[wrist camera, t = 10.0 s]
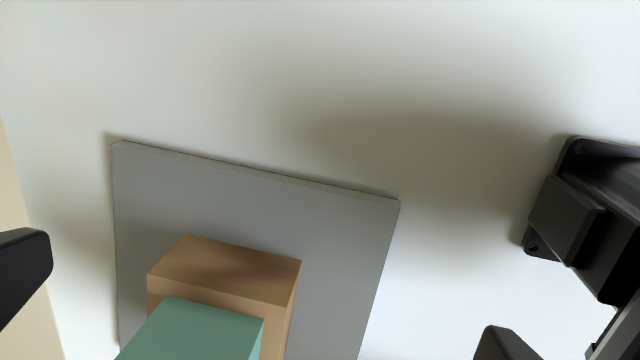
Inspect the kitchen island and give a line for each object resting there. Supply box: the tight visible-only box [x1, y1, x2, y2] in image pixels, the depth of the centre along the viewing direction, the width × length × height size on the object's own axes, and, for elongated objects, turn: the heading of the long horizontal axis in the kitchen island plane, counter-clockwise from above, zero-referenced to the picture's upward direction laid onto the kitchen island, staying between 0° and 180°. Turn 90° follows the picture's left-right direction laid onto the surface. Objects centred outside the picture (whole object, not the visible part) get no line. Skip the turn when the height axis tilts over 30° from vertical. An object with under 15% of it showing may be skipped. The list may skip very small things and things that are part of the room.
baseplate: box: [111, 140, 400, 360], centre depth 23 cm, size 16×16×1 cm
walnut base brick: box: [147, 234, 302, 360], centre depth 21 cm, size 7×7×4 cm
